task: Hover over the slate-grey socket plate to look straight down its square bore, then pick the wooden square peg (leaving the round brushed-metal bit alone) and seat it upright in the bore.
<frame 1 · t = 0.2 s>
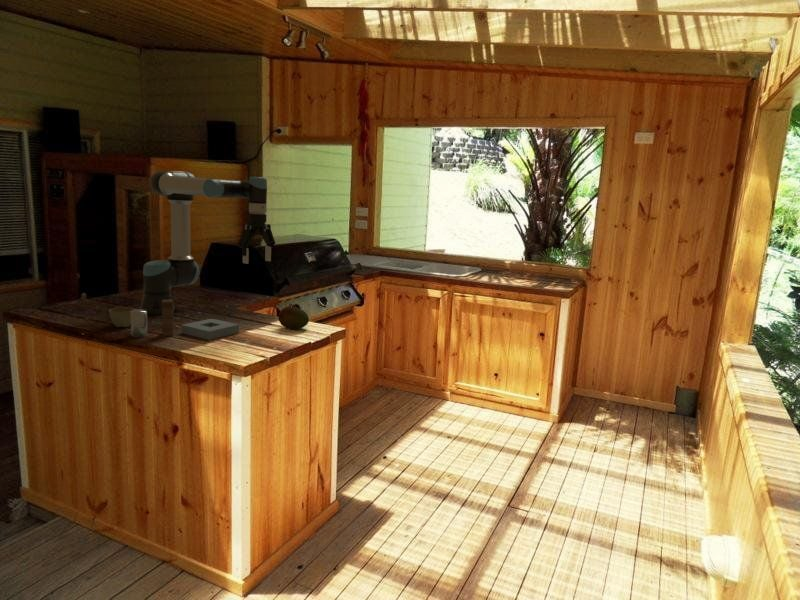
hand: (257, 262, 264), 28 cm above the countertop, fingers open, 13 cm apart
fruit: (293, 329, 265), on the countertop
flower pot: (122, 326, 251), on the countertop
wooden square peg: (168, 334, 243), on the countertop
round bit: (139, 335, 239), on the countertop
socket plate: (210, 332, 249), on the countertop
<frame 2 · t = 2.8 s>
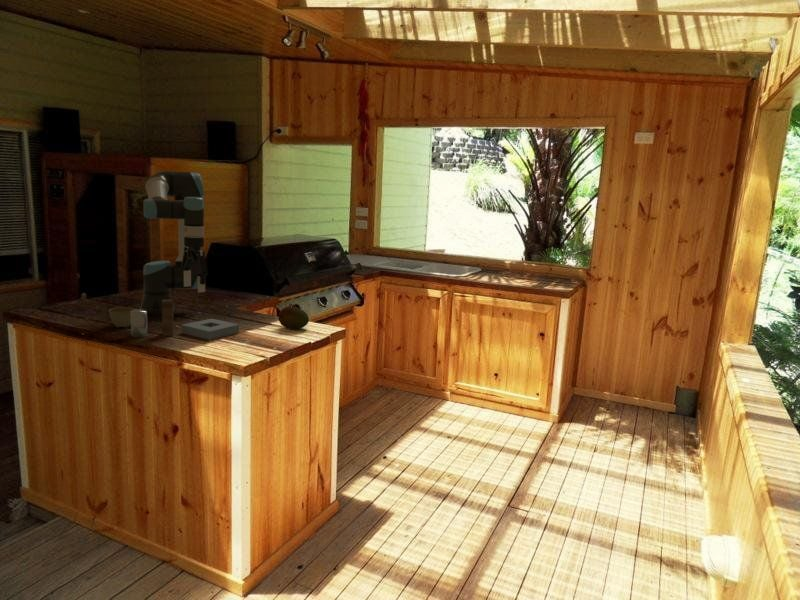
hand: (194, 289, 243), 18 cm above the countertop, fingers open, 13 cm apart
nothing on the countertop moved.
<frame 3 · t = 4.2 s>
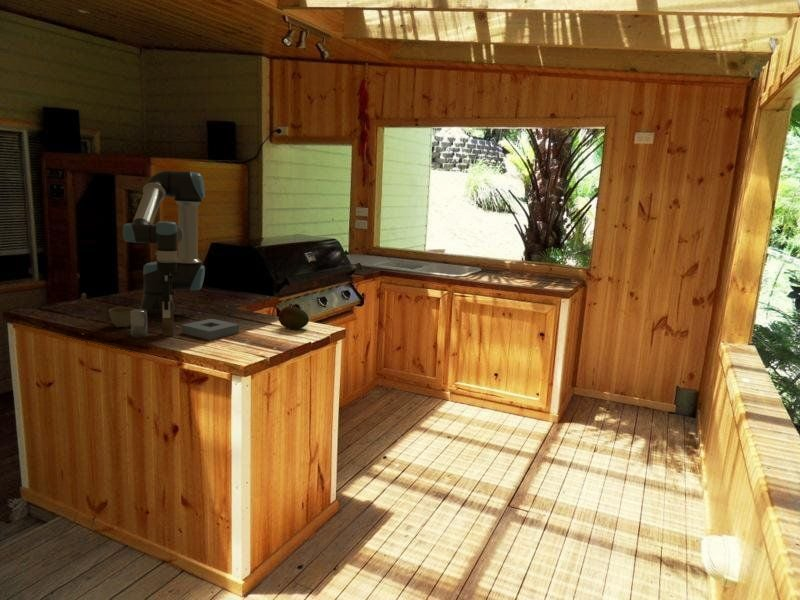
hand: (167, 314, 241), 8 cm above the countertop, fingers open, 13 cm apart
nothing on the countertop moved.
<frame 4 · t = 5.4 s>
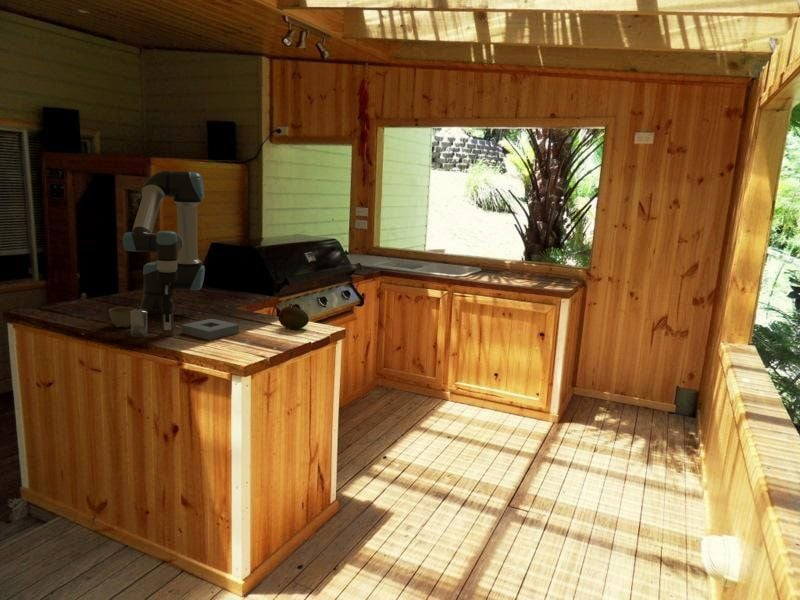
hand: (167, 328, 242), 3 cm above the countertop, fingers closed on wooden square peg, 4 cm apart
wooden square peg: (168, 334, 243), on the countertop, touching gripper
everything else where it was.
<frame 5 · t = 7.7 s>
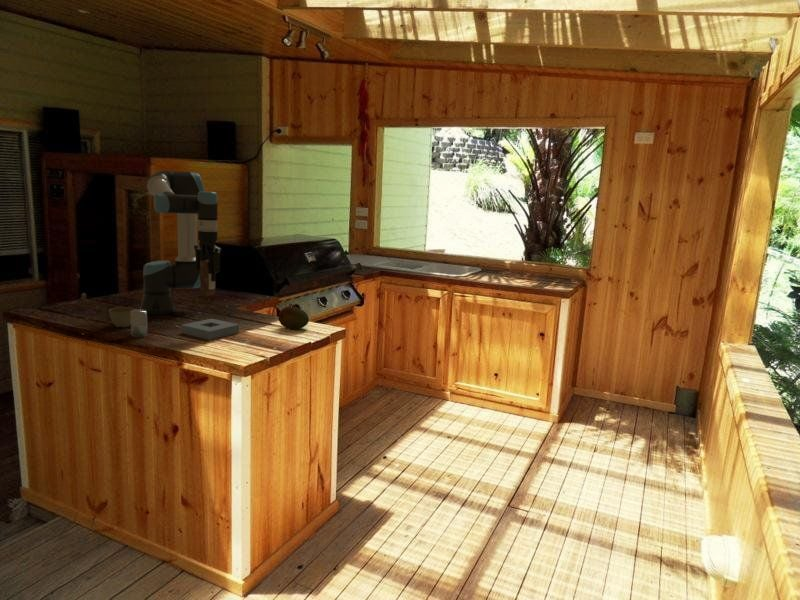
hand: (207, 288, 245), 19 cm above the countertop, fingers closed on wooden square peg, 4 cm apart
wooden square peg: (207, 294, 245), point 16 cm above the countertop, touching gripper
everything else where it was.
when the fingers open (5 cm above the countertop, at t = 9.9 s): wooden square peg drops 2 cm, resting on socket plate.
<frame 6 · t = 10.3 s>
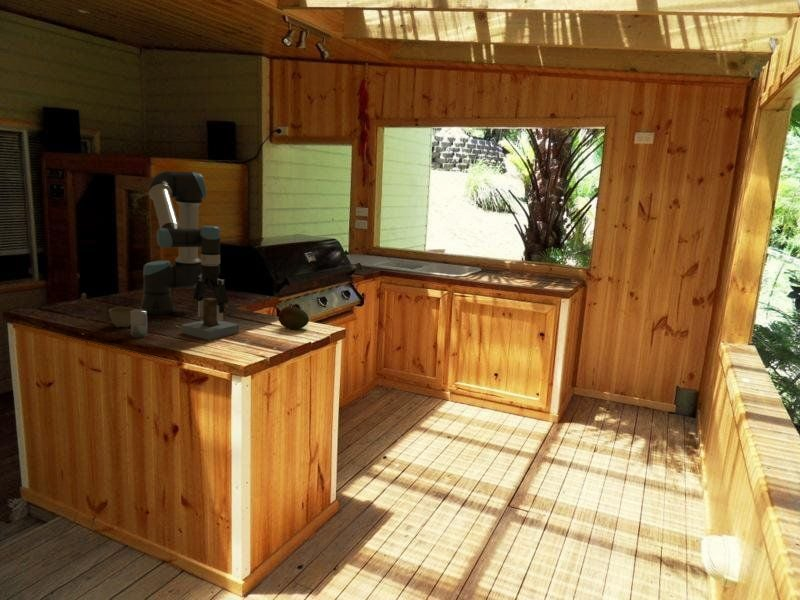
hand: (210, 318, 248), 6 cm above the countertop, fingers open, 10 cm apart
wooden square peg: (210, 332, 249), resting on socket plate
everything else where it was.
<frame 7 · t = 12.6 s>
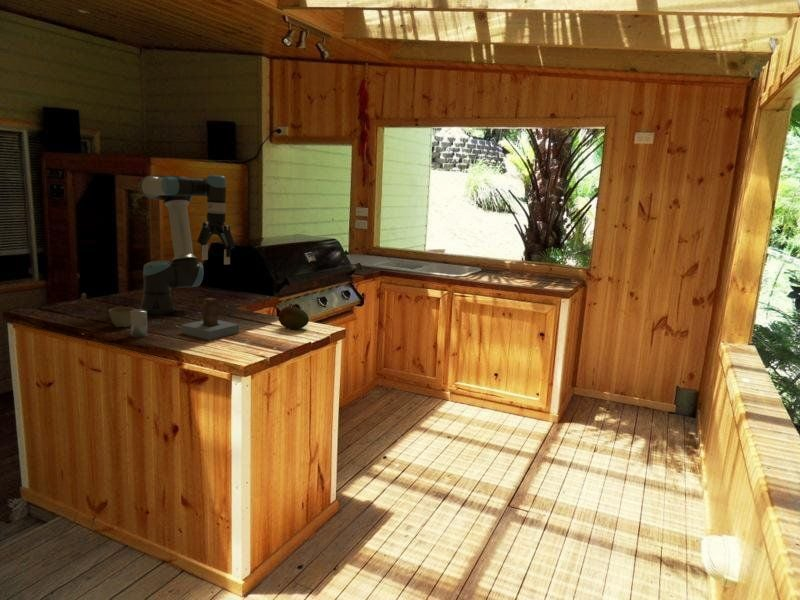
hand: (215, 262, 259), 27 cm above the countertop, fingers open, 13 cm apart
nothing on the countertop moved.
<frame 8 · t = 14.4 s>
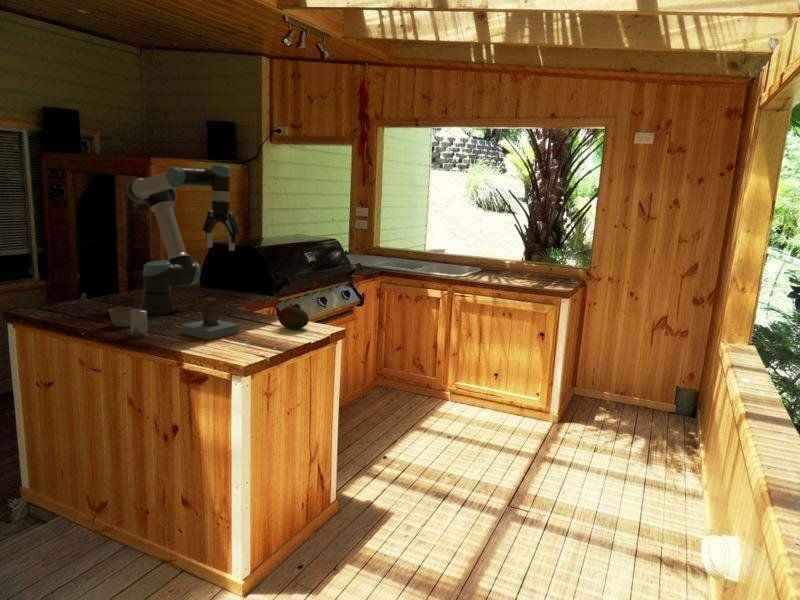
hand: (220, 248, 270), 32 cm above the countertop, fingers open, 13 cm apart
nothing on the countertop moved.
at the end: wooden square peg 0.1 cm off-centre on the socket plate, point 0.3 cm above the socket plate's base; wooden square peg tilted 0°; the gripper is holding nothing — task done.
